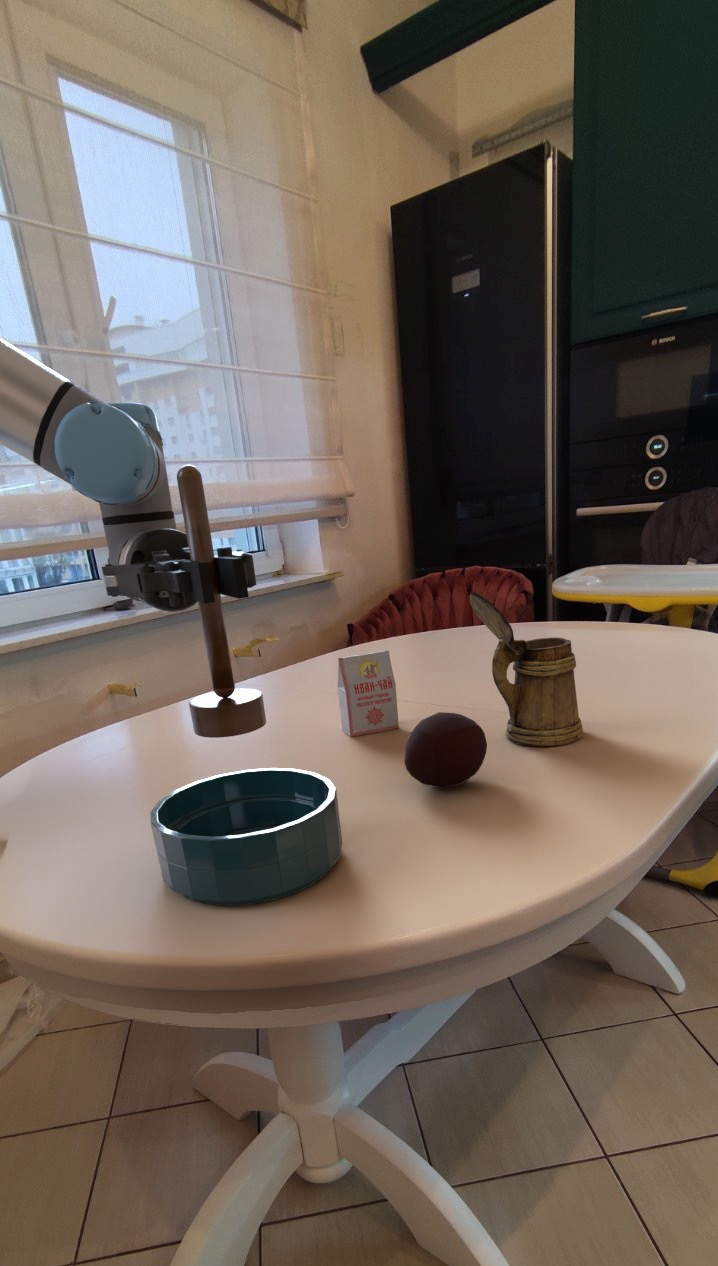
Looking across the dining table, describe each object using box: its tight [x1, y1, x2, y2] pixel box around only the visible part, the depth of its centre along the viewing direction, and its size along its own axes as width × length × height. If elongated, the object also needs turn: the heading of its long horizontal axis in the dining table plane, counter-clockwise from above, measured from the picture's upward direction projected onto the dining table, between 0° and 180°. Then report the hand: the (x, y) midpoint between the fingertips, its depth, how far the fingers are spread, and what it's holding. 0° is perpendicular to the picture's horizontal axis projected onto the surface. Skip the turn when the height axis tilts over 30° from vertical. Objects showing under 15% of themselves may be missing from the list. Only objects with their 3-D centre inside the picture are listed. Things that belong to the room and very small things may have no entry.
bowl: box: [149, 767, 343, 906], centre depth 61 cm, size 15×15×6 cm
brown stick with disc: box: [176, 464, 267, 739], centre depth 57 cm, size 6×6×20 cm
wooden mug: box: [469, 590, 584, 748], centre depth 83 cm, size 9×14×18 cm, turn 106°
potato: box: [403, 711, 488, 789], centre depth 74 cm, size 8×9×8 cm
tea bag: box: [337, 650, 400, 738], centre depth 95 cm, size 4×7×10 cm, turn 108°
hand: (223, 580), depth 51 cm, fingers closed on brown stick with disc, 2 cm apart
